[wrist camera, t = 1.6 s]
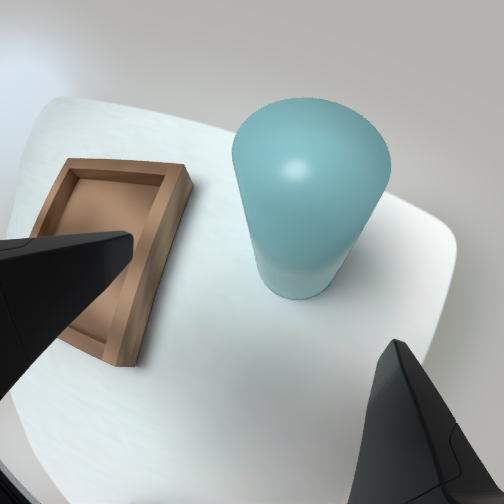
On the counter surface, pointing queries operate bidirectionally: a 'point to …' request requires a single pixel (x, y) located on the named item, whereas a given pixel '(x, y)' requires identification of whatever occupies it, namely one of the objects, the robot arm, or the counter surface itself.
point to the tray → (116, 219)
